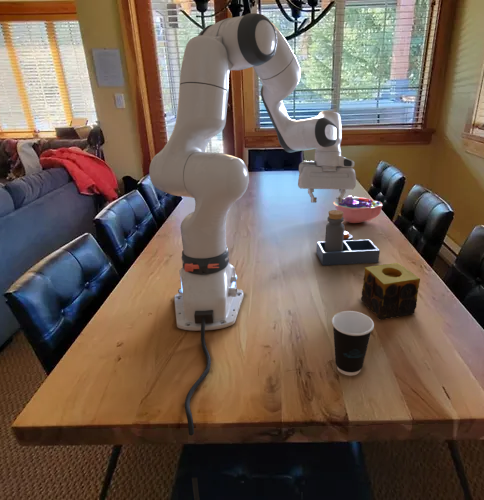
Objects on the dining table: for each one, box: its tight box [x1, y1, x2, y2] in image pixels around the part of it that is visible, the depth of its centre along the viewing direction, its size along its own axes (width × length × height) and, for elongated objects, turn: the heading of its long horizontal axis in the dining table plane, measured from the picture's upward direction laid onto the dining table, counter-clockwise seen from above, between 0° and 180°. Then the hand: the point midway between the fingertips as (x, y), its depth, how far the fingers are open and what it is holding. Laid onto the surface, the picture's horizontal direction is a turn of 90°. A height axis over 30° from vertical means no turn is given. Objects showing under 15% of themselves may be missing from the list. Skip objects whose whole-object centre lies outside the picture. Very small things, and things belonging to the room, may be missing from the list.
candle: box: [360, 262, 421, 321], centre depth 94 cm, size 10×10×10 cm
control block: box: [343, 233, 354, 241], centre depth 135 cm, size 10×8×3 cm
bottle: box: [324, 209, 345, 252], centre depth 121 cm, size 6×6×15 cm
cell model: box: [332, 195, 383, 224], centre depth 155 cm, size 17×20×11 cm
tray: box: [316, 238, 381, 266], centre depth 123 cm, size 10×18×4 cm, turn 95°
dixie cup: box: [331, 310, 375, 377], centre depth 74 cm, size 8×8×11 cm
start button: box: [344, 230, 350, 238], centre depth 134 cm, size 4×4×2 cm
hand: (326, 202), depth 129 cm, fingers open, 8 cm apart
